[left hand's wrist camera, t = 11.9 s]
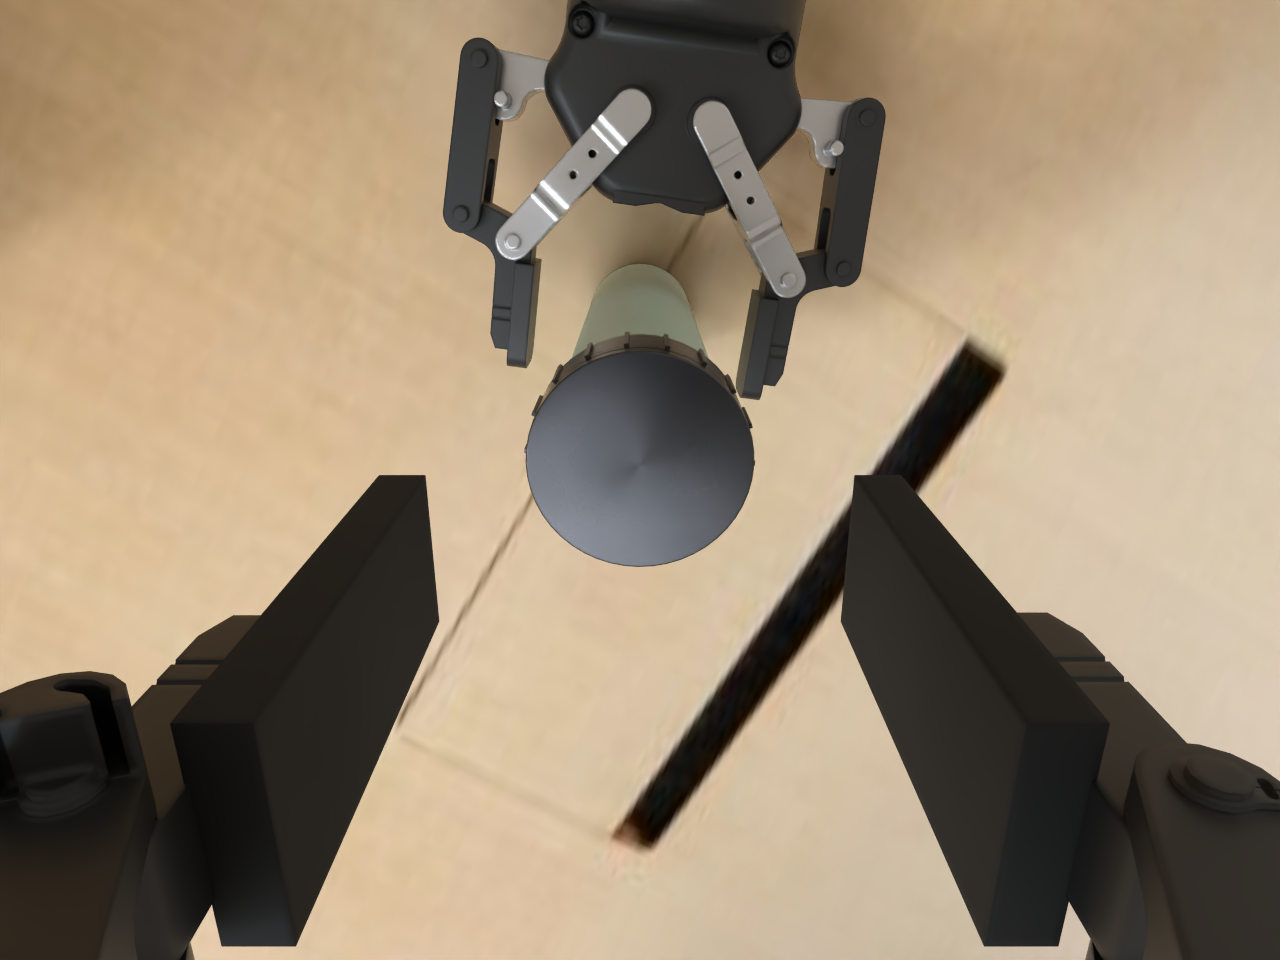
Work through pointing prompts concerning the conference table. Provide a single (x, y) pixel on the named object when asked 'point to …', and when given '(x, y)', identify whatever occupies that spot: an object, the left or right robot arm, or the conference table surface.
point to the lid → (640, 451)
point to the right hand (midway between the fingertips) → (634, 378)
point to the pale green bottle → (639, 308)
